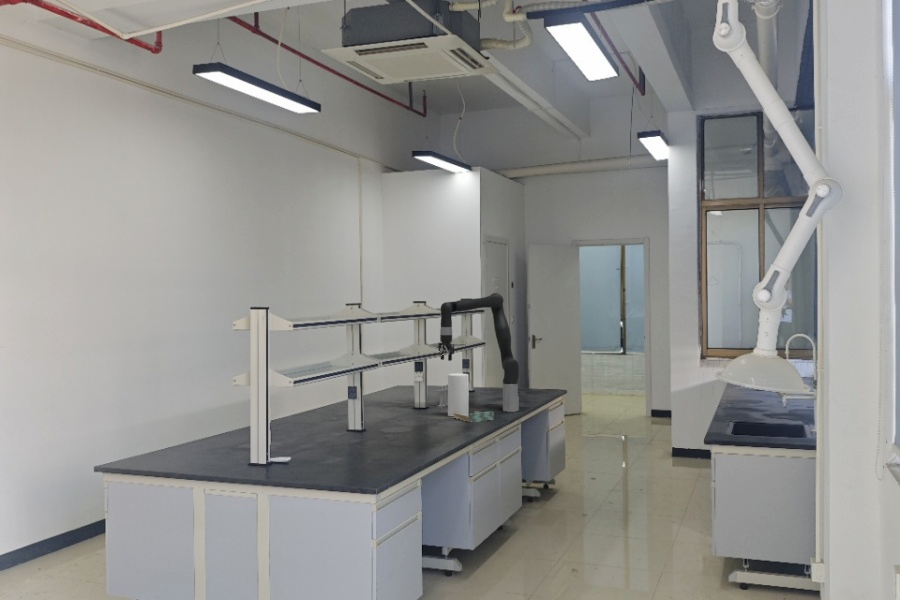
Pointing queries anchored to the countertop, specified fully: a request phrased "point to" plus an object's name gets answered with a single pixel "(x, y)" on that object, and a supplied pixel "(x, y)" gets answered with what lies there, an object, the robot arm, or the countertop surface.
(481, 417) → the cradle
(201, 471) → the countertop surface
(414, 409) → the countertop surface
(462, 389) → the cylinder
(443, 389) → the test tube rack
